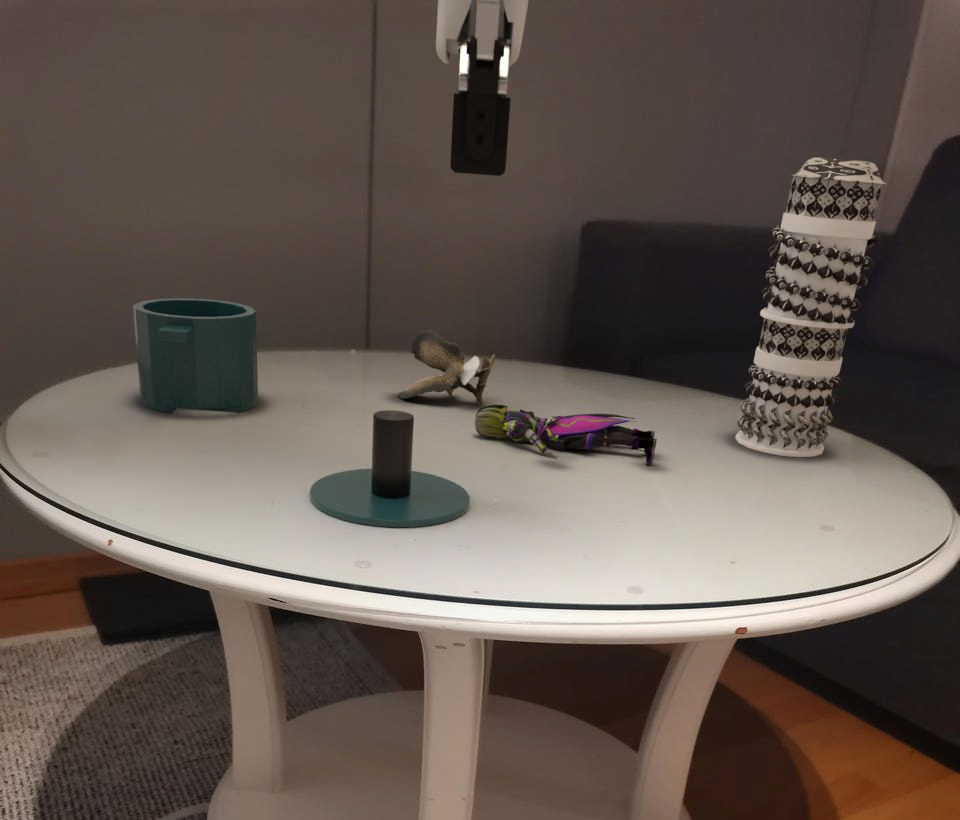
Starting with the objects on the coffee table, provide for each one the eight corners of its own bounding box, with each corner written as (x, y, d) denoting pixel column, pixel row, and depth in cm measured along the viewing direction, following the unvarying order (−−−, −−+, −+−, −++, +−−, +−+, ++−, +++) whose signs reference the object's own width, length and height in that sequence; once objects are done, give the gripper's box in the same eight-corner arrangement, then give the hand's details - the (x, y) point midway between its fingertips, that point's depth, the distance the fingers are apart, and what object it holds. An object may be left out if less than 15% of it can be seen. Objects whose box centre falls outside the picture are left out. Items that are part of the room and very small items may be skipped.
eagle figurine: (489, 382, 104) (409, 358, 104) (501, 332, 98) (415, 306, 98) (473, 434, 101) (389, 409, 100) (484, 386, 94) (395, 359, 94)
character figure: (646, 449, 91) (477, 425, 91) (654, 409, 89) (482, 385, 90) (653, 479, 83) (467, 452, 83) (662, 436, 81) (472, 409, 81)
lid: (298, 529, 65) (297, 430, 62) (321, 477, 75) (322, 390, 72) (468, 541, 65) (476, 443, 62) (468, 487, 76) (475, 401, 73)
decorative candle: (751, 426, 101) (806, 157, 89) (840, 446, 96) (910, 165, 85) (716, 442, 94) (771, 153, 82) (809, 464, 89) (881, 162, 78)
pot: (116, 417, 85) (107, 317, 81) (167, 378, 99) (161, 291, 96) (238, 427, 86) (234, 327, 82) (271, 386, 100) (269, 299, 96)
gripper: (434, -139, 61) (422, 165, 69) (422, -235, 45) (409, 170, 53) (553, -128, 61) (528, 172, 69) (581, -220, 46) (546, 181, 54)
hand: (476, 171), depth 61 cm, fingers open, 9 cm apart
